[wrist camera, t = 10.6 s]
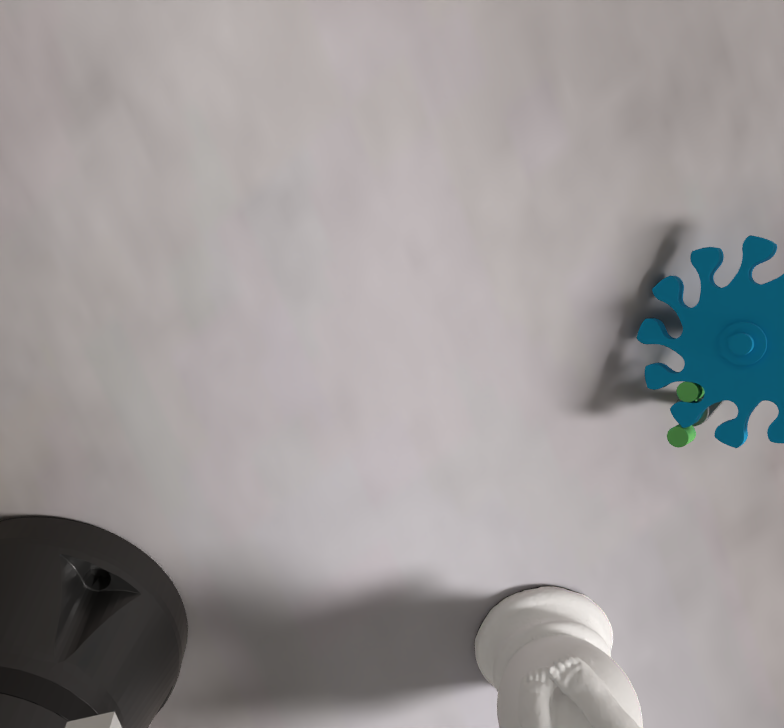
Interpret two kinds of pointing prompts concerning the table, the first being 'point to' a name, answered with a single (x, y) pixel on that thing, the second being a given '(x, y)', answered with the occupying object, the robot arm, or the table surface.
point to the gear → (723, 346)
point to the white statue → (554, 663)
